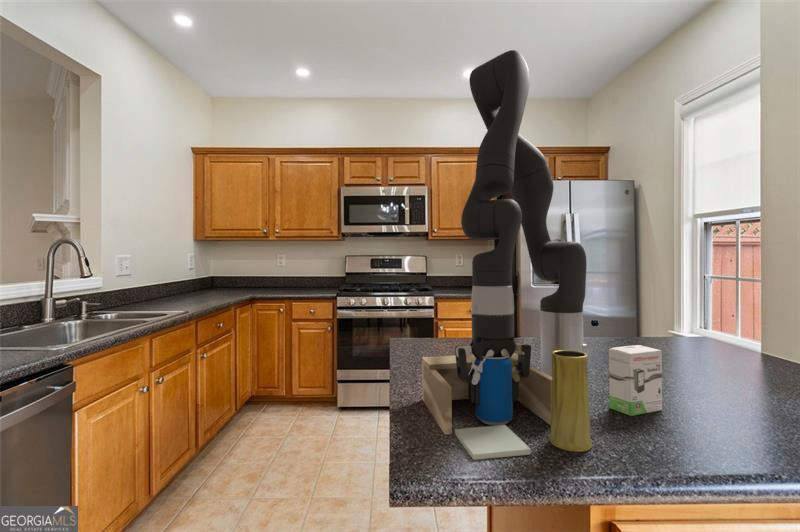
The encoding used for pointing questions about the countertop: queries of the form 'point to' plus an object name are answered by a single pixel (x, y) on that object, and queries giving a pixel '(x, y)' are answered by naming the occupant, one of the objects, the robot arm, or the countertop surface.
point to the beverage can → (495, 391)
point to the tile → (491, 442)
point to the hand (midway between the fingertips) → (493, 402)
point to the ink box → (635, 379)
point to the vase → (570, 401)
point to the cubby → (447, 386)
